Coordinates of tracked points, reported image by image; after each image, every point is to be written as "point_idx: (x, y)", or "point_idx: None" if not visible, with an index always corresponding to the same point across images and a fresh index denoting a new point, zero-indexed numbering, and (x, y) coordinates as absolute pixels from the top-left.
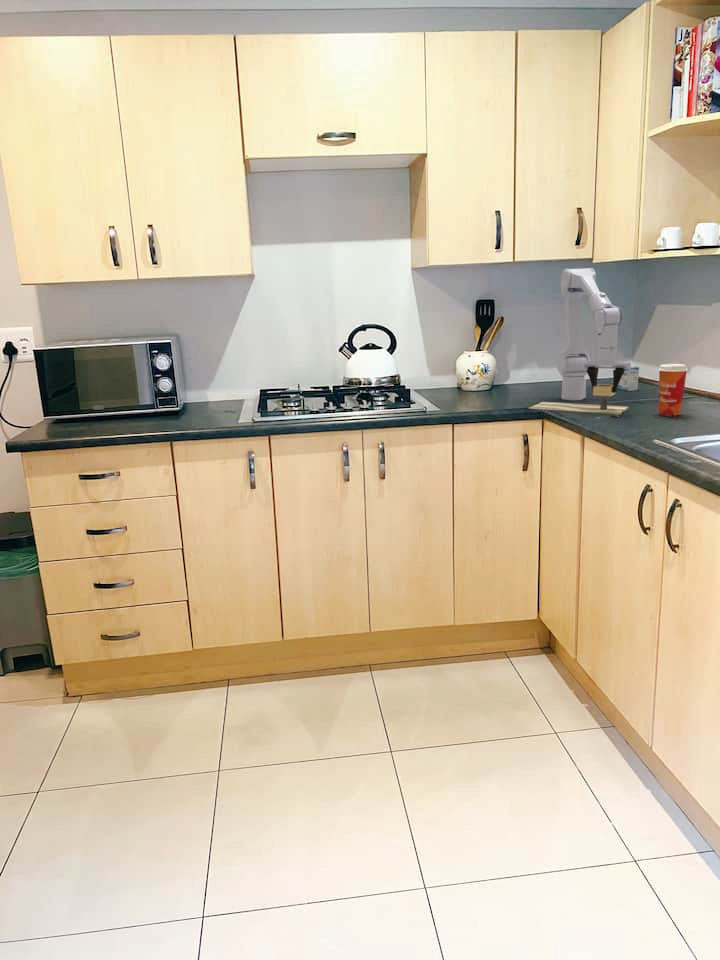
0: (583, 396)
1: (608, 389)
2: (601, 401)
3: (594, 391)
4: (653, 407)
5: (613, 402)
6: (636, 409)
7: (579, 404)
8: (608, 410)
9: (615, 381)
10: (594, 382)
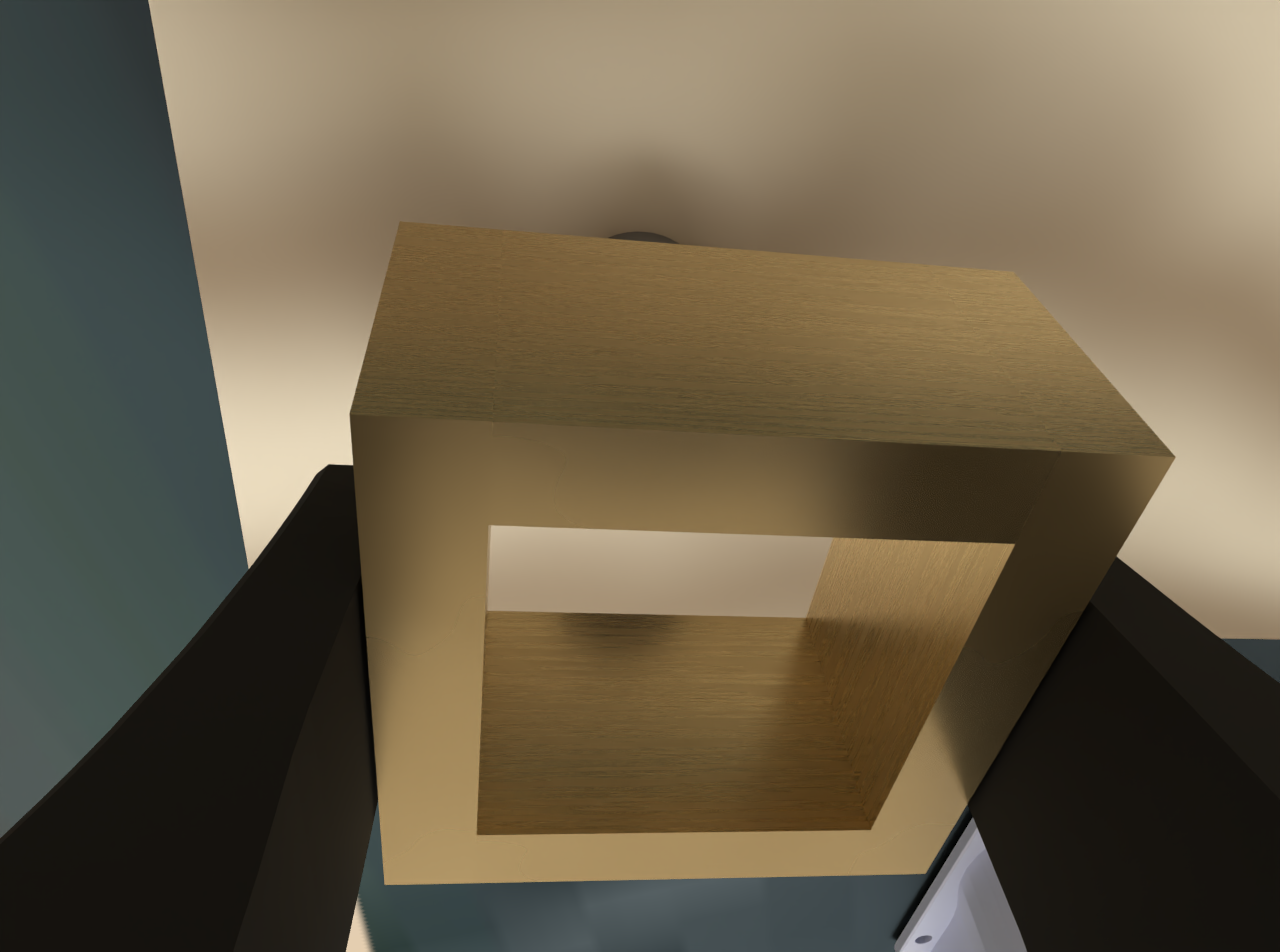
0: (962, 946)
1: (501, 360)
2: None
3: (1028, 333)
4: (24, 804)
5: (608, 905)
6: (168, 639)
7: None
8: (496, 137)
9: (170, 775)
10: (1167, 717)
